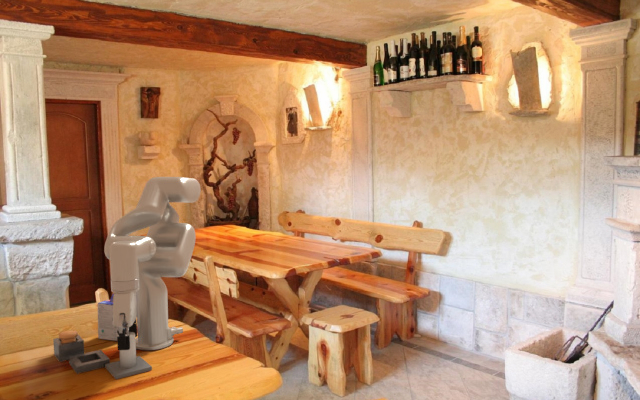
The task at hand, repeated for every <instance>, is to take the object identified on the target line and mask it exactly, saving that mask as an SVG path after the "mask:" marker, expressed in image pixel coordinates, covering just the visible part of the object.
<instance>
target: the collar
mask: <svg viewBox="0 0 640 400" xmlns="http://www.w3.org/2000/svg"><path fill="white" fill-rule="evenodd" d="M110 361H111V359H110V357H108V355H106V354H105V352H103V350H101V349H98V350H94V351H90V352H84V354H80V355H75V356H71V357H69V360H68V363H69V365H70V367H71V368H72V369H73V370H74V372H75V373H76V374H77V375H78V374H81V373H86V372H90V371H93V370H98V369H102V368H105V364H108V363H111V362H110Z"/></svg>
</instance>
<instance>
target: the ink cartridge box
mask: <svg viewBox="0 0 640 400" xmlns="http://www.w3.org/2000/svg"><path fill="white" fill-rule="evenodd" d="M113 298H114V293H112V295H111V296H110V299H106V300H103V301H100V302H97V333H98V334H97V335H98V336H97V338H98V339H101V340H108V341H114V342H117V330H118V328H117V327H116V328H114V327H113ZM123 325H125V324H123ZM123 329H125V328H123Z"/></svg>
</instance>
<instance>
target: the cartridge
mask: <svg viewBox="0 0 640 400" xmlns="http://www.w3.org/2000/svg"><path fill="white" fill-rule="evenodd" d="M128 335H130V349H129V350H118V352H119V361H120V367H121V368H131V367H134V366H136V357H137V349H136V340H135V339H136V337H135V333H133V332H129V333H128Z"/></svg>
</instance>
